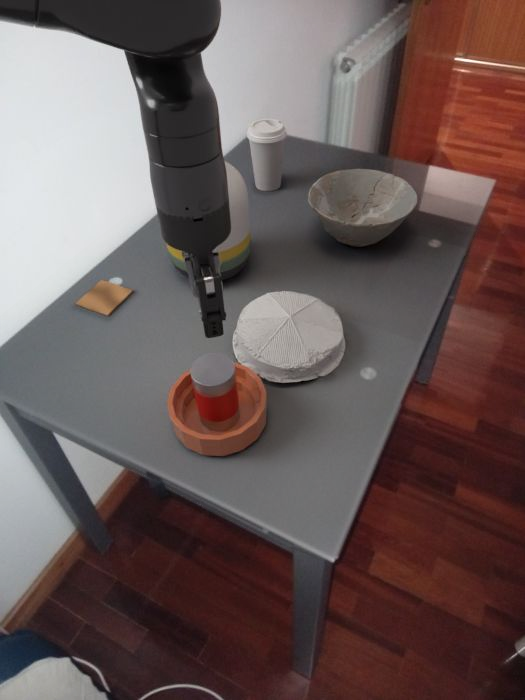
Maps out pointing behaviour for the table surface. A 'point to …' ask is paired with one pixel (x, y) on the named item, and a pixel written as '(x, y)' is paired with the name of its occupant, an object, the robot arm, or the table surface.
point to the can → (215, 390)
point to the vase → (239, 239)
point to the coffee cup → (267, 152)
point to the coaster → (104, 297)
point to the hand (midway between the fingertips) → (208, 312)
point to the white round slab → (289, 337)
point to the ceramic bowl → (361, 204)
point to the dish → (228, 440)
